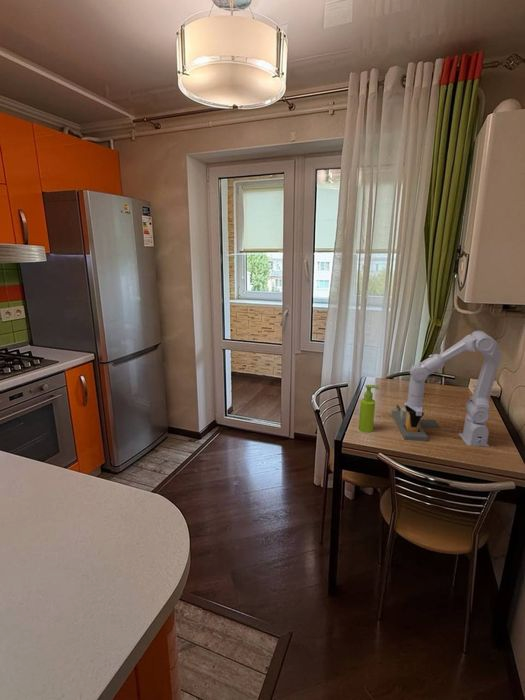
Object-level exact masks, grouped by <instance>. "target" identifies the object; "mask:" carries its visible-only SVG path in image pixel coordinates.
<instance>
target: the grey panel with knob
mask: <svg viewBox="0 0 525 700" xmlns="http://www.w3.org/2000/svg"><path fill="white" fill-rule="evenodd" d="M396 409H397V410H391V416H392V418H393V420H394V422H395V424H396V426H397V428H398V431H399V432H400V434H401V437H402V438H403V440H404V441H412V442H413V441H417V442H428V441H429V437H428V434H427V433H426V432H425V430H424V427H421V425H420V423H419V426H418V432H411V431H407V429H406V427H405V424H406V415H407V411H406V407H403V406H402V407H401V406H400V405H398V404H397V405H396Z"/></svg>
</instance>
